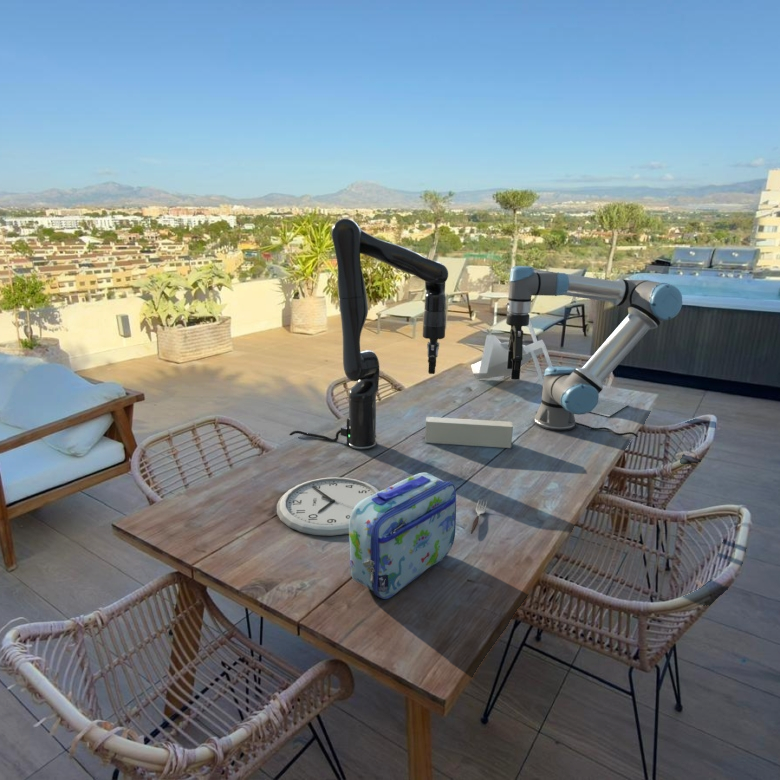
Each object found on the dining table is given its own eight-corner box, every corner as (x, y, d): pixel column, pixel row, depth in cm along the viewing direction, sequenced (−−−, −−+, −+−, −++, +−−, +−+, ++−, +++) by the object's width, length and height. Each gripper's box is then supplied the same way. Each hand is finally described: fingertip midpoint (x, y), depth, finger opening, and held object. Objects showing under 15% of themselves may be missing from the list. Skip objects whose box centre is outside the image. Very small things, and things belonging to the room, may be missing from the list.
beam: (509, 442, 187) (511, 421, 184) (511, 448, 182) (513, 426, 180) (425, 437, 190) (426, 416, 188) (425, 442, 185) (425, 421, 183)
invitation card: (608, 416, 214) (573, 407, 224) (608, 416, 214) (573, 408, 224) (628, 404, 229) (594, 396, 238) (628, 405, 229) (594, 397, 238)
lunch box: (377, 612, 103) (378, 518, 97) (342, 586, 111) (341, 497, 104) (459, 557, 121) (465, 475, 115) (425, 538, 128) (428, 460, 122)
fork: (465, 534, 130) (466, 527, 129) (478, 504, 144) (478, 498, 144) (476, 536, 129) (476, 529, 128) (487, 506, 143) (488, 499, 143)
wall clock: (392, 527, 129) (268, 531, 127) (391, 533, 130) (269, 537, 127) (383, 473, 158) (282, 475, 155) (383, 478, 158) (282, 480, 156)
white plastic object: (492, 421, 263) (472, 398, 238) (473, 348, 285) (453, 320, 260) (564, 397, 251) (551, 370, 226) (538, 322, 273) (524, 290, 248)
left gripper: (424, 319, 182) (422, 364, 187) (421, 327, 169) (419, 375, 174) (445, 320, 181) (443, 365, 186) (445, 328, 168) (442, 376, 173)
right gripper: (503, 307, 189) (499, 364, 195) (510, 319, 165) (505, 383, 171) (524, 308, 188) (519, 365, 194) (535, 319, 164) (528, 384, 171)
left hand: (432, 370), depth 180 cm, fingers open, 8 cm apart
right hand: (513, 373), depth 183 cm, fingers open, 13 cm apart
